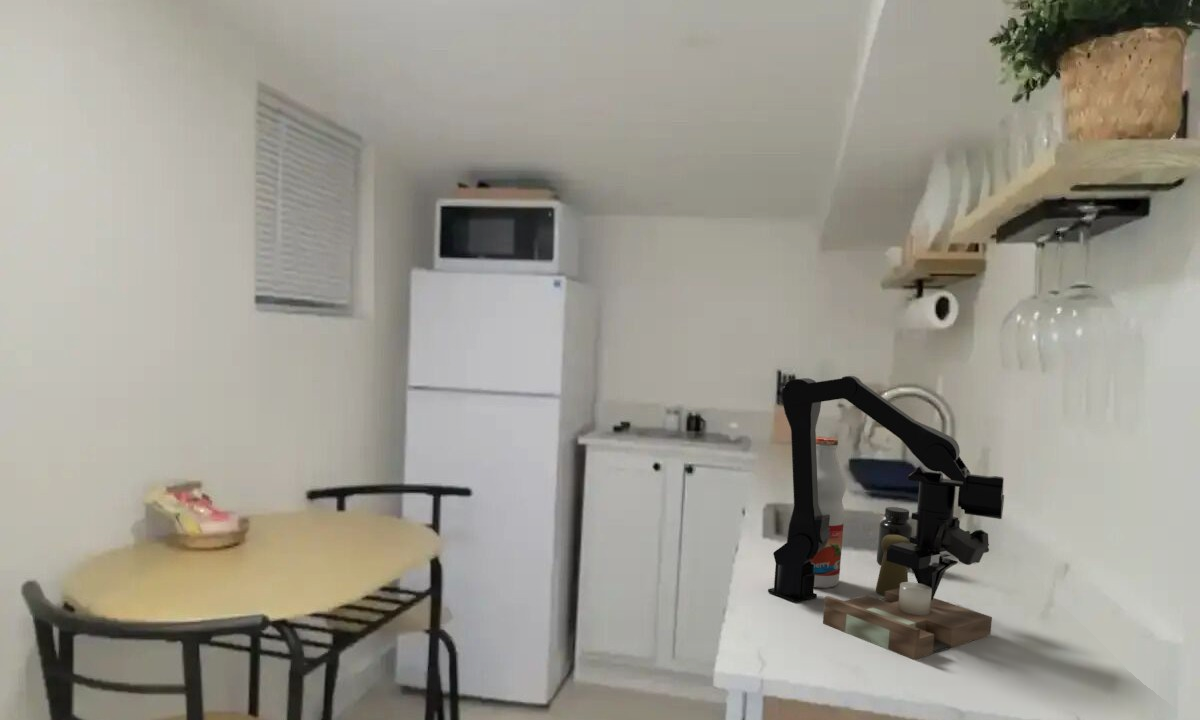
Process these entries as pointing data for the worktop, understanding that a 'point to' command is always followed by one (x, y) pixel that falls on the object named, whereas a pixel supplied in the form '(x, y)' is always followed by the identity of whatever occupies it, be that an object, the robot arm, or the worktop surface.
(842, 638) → the worktop surface
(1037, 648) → the worktop surface
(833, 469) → the fruit juice
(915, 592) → the white short cylinder
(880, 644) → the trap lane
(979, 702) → the worktop surface
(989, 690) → the worktop surface
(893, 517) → the supplement bottle
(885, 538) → the cork
